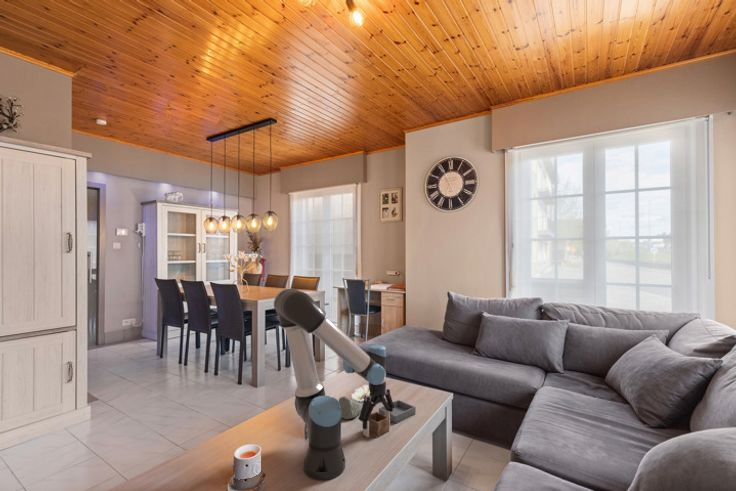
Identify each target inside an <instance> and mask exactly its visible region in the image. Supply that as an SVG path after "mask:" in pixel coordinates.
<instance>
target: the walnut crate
mask: <svg viewBox="0 0 736 491" xmlns="http://www.w3.org/2000/svg"><path fill="white" fill-rule="evenodd" d="M365 418H366V417H365ZM368 421H369V434H371V435H373V436H374V437H376V438H379V437H382V436H384V435H386V434H387V433H389V432H390V427H389V418H388V417H386V416H384V415H382V414H380V413H379V411H374V412H371V414H370V417H369V419H368Z"/></svg>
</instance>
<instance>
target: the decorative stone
mask: <svg viewBox="0 0 736 491" xmlns="http://www.w3.org/2000/svg"><path fill="white" fill-rule="evenodd" d="M338 401H339V403H340V405H341V412H342V415H341V419H343V420H351V419H353V418H356V417H357V416H358V415H359V414H360V413H361V409H362V406H363V403H361V402H357V401H356V400H352V399H351V398H349V397H346V396H340V397H339V398H338Z"/></svg>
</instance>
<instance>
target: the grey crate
mask: <svg viewBox="0 0 736 491" xmlns="http://www.w3.org/2000/svg"><path fill="white" fill-rule="evenodd" d="M393 404H394V408H392V409H393V411H392V412H391V417H390V423H393V424H395V425H397V424H398V423H401V422H403V421H404V420H407V419H409V418H411V417H413V416H415V415H416V410H417V409H416V406H415V405H412V404H409V403H408V402H405V401H403V400H400V399H397V400H395V401H393ZM385 410H387V409H386V408H385V407H384V405H383V406H380V407H378V413H380V414H382V415H384V416H385Z"/></svg>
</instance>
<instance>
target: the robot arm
mask: <svg viewBox="0 0 736 491" xmlns="http://www.w3.org/2000/svg"><path fill="white" fill-rule="evenodd" d="M273 307H274V310H275V312H276V314H277V316H278V321H279V325H280V328H281V329H283V330H284V331H285V334H286V338H287V343H288V348H289V352H290V353H289V355H290V357H291V361H292V362H291V363H292V368H293V372H294V373H293V374H294V376H295V383H296V388H295V389H294V397H295V398H294V407H295V411H296V413H297V415H298V416H299V417H300V418H301V419H302V421H303V422H304V424H305V425H306V427H307V428H308V446H307V450H306V453H305V457H304V460H303V465H302V466H303V468H302V469H303V472H304V474H305V475H306V476H307V477H308V478H310V479H313V480H317V481H326V480H331V479H334V478H336V477H339V476H340V475H341V474H343V472H344V471H345V468H346V457H345V454H344V450H343V447H342V443H341V441H342V440H341V439H342V436H341V434H342V417H341V415H342V412H341V405H340V403H339V399H337V398H335V397H334V396H330V395H326V390H325V387H324V382H322V381H320V380H319V376H318V372H317V366H316V362H315V356H314V351H313V347H312V341H311V337H310V336H311V335H310V334H313V335H314V336H315V337H316V338H317V339H318V340H319V341H321V342H322V343H323V344H324V345H325V346H327V348H328V349H330V350H331V351H332V352H333V353H335V354H336V355H337V356H338V357H339V358H341V360H342V366H343V371H344V372H345V373H346V374H354V373H356V374H357V375H358V376H360V377H361V378H363V379H364V380H365V381H367V382H368V391H369V395H364V396H363V403H362V409H361V412H360V413H359V417H358V420H359V421H361V422H362V429H363V432H362V434H363V436H365V437H366V438H369V437H370V433H369V421H368V419H369V417H370V414H372V413H373V411H374V410H373V409H374V408H375V407H376V406H377V405H378V404H382V405H383V406H384V407H385V408H386V409H387V410H385V416H386V417H388V418H389V428H390V427H391V422H390V417H391V412H392V411H393V409H392V408H394V404H393V402H394V401H393V398H392V396H391V390H390V389H389V388H387V385H386V384H387V382H386V380H387V378H386V377H387V348H386V347H385V346H384V345H381V344H372V345H370V346H369V348H368V351H364V350H363V349H362V348H361V347H359V346H358V344H356V343H355V342H354V341H353V340H352V339H351V338H350V337H349V336H348V335H347V334H346V333H344V331H343V330H341V329H340V328H339V327H338V326H337V325H336V324H335V323H333V322H332V321H331V320H330V318H328V317H327V315H328V314H327V311H325V310H323V308H322V307H321V306H320V305H319V304H318V303H317V302H316V301H315V300H314V299H313V298H312V297H311V296H310V295H309V294H308V293H306V292H304V291H302V290H301V291H300V290H299V289H297V288H285V289H283V290H280V291H279V292H278V293H277V295H276V296H275V298H274V300H273ZM365 417H366V418H365Z"/></svg>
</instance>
